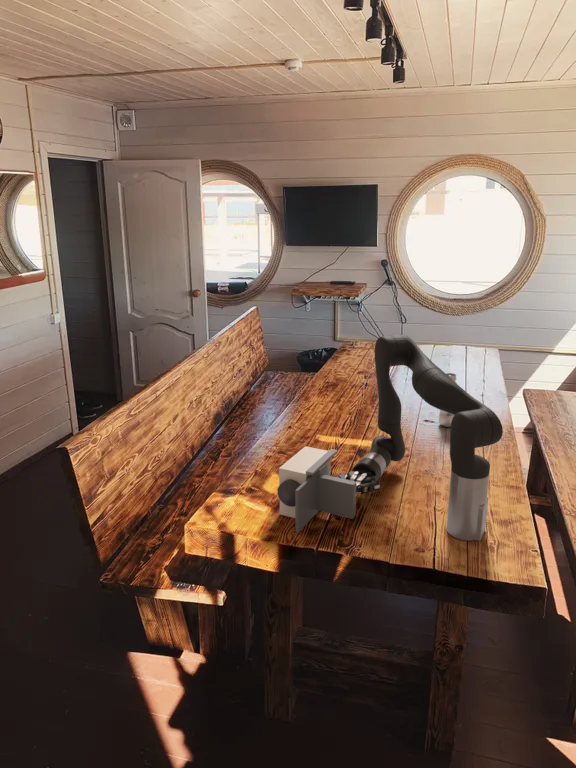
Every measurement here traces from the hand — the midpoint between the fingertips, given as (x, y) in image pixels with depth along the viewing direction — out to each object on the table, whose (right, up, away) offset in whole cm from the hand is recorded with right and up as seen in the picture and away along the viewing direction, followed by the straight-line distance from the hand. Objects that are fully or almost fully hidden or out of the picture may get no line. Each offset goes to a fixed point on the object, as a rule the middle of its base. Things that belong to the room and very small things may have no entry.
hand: (346, 494), depth 163 cm
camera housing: (-10, -5, +8) cm, 14 cm away
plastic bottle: (+44, +14, +65) cm, 79 cm away
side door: (-6, -7, -3) cm, 10 cm away
